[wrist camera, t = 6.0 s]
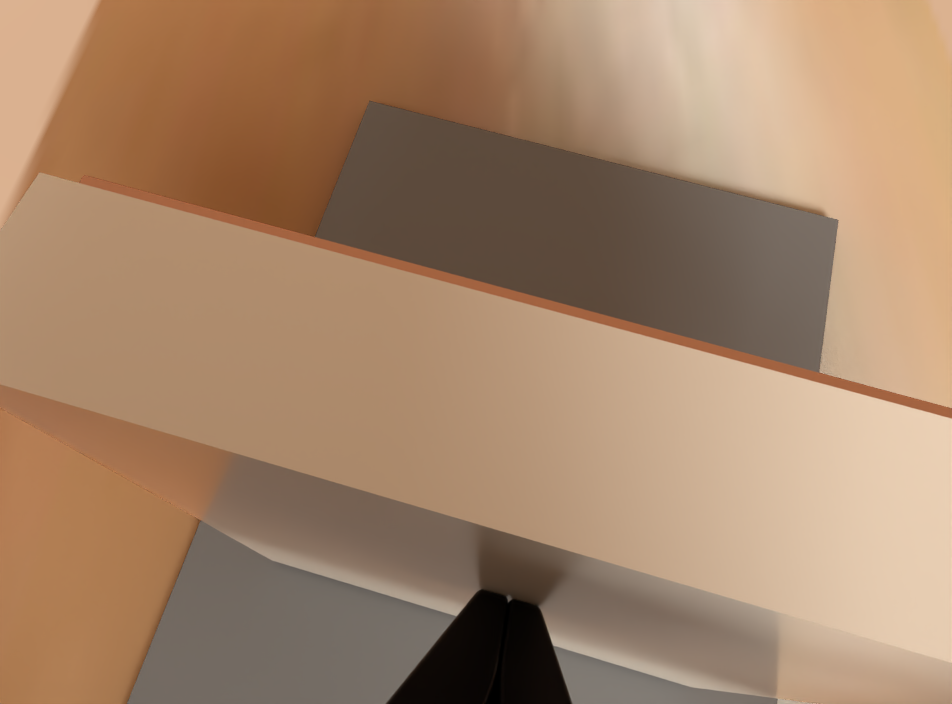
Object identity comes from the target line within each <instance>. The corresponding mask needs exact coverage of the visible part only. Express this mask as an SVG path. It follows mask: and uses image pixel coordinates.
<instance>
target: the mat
mask: <svg viewBox="0 0 952 704" xmlns="http://www.w3.org/2000/svg"><path fill="white" fill-rule="evenodd" d="M837 227H838V220H837V219H833V218H829V217H825V216H821V215H817V214H813V213H809V212H805V211H801V210H797V209H793V208H789V207H785V206H781V205H778V204H774V203H770V202H766V201H762V200H758V199H754V198H750V197H746V196H742V195H738V194H734V193H730V192H726V191H722V190H719V189H715V188H711V187H707V186H703V185H699V184H695V183H691V182H687V181H683V180H679V179H675V178H671V177H667V176H663V175H660V174H656V173H652V172H648V171H644V170H640V169H636V168H632V167H628V166H624V165H620V164H616V163H612V162H608V161H604V160H601V159H597V158H593V157H589V156H585V155H581V154H577V153H573V152H569V151H565V150H561V149H557V148H553V147H549V146H545V145H542V144H538V143H534V142H530V141H526V140H522V139H518V138H514V137H510V136H506V135H502V134H498V133H494V132H490V131H486V130H483V129H479V128H475V127H471V126H467V125H463V124H459V123H455V122H451V121H447V120H443V119H439V118H435V117H431V116H427V115H424V114H420V113H416V112H412V111H408V110H404V109H400V108H396V107H392V106H388V105H384V104H380V103H376V102H372V101H369V104H368V106H367V109H366V111H365V114H364V116H363V118H362V121H361V123H360V126H359V128H358V131H357V133H356V136H355V138H354V141H353V143H352V146H351V148H350V151H349V153H348V156H347V158H346V161H345V163H344V166H343V168H342V171H341V173H340V176H339V178H338V181H337V183H336V186H335V188H334V191H333V193H332V196H331V198H330V200H329V203H328V205H327V208H326V210H325V213H324V215H323V218H322V220H321V223H320V225H319V228H318V230H317V233H316V235H315V237H317V238H320V239H324V240H328V241H331V242H335V243H339V244H343V245H346V246H350V247H354V248H357V249H361V250H365V251H369V252H372V253H376V254H380V255H383V256H387V257H391V258H395V259H398V260H402V261H406V262H409V263H413V264H417V265H421V266H424V267H428V268H432V269H435V270H439V271H443V272H447V273H450V274H454V275H458V276H461V277H465V278H469V279H473V280H476V281H480V282H484V283H487V284H491V285H495V286H499V287H502V288H506V289H510V290H513V291H517V292H521V293H525V294H528V295H532V296H536V297H540V298H543V299H547V300H551V301H554V302H558V303H562V304H566V305H569V306H573V307H577V308H580V309H584V310H588V311H592V312H595V313H599V314H603V315H606V316H610V317H614V318H618V319H621V320H625V321H629V322H632V323H636V324H640V325H644V326H647V327H651V328H655V329H658V330H662V331H666V332H670V333H673V334H677V335H681V336H684V337H688V338H692V339H696V340H699V341H703V342H707V343H710V344H714V345H718V346H722V347H725V348H729V349H733V350H736V351H740V352H744V353H748V354H751V355H755V356H759V357H762V358H766V359H770V360H774V361H777V362H781V363H785V364H788V365H792V366H796V367H800V368H803V369H807V370H811V371H814V372H818V373H819V369H820V361H821V353H822V345H823V337H824V329H825V321H826V314H827V306H828V298H829V290H830V282H831V274H832V266H833V258H834V251H835V243H836V235H837ZM455 618H456V616H454V615H451V614H447V613H444V612H441V611H437V610H434V609H431V608H428V607H424V606H421V605H418V604H414V603H411V602H408V601H404V600H401V599H398V598H395V597H391V596H388V595H385V594H381V593H378V592H375V591H371V590H368V589H365V588H361V587H358V586H355V585H352V584H348V583H345V582H342V581H338V580H335V579H332V578H328V577H325V576H322V575H318V574H315V573H312V572H309V571H305V570H302V569H299V568H295V567H292V566H289V565H285V564H282V563H279V562H276V561H272V560H270V559H268V558H267V557H265V556H263V555H261V554H259V553H258V552H256V551H254V550H252V549H251V548H249V547H247V546H245V545H243V544H242V543H240V542H238V541H236V540H235V539H233V538H231V537H229V536H227V535H226V534H224V533H222V532H220V531H219V530H217V529H215V528H213V527H211V526H210V525H208V524H206V523H204V522H203V521H200V524H199V526H198V529H197V531H196V533H195V536H194V538H193V541H192V543H191V546H190V548H189V551H188V553H187V556H186V558H185V561H184V563H183V566H182V568H181V571H180V573H179V576H178V578H177V581H176V583H175V586H174V588H173V591H172V593H171V596H170V598H169V601H168V603H167V606H166V608H165V611H164V613H163V615H162V618H161V620H160V623H159V625H158V628H157V630H156V633H155V635H154V638H153V640H152V643H151V645H150V648H149V650H148V653H147V655H146V658H145V660H144V663H143V665H142V668H141V670H140V673H139V675H138V678H137V680H136V683H135V685H134V688H133V690H132V693H131V695H130V697H129V700H128V702H127V704H386V702H387V701H388V700H389V699H390V697H391V696H392V695H393V694H394V693H395V691H396V690H397V689H398V688H399V686H400V685H401V684H402V683H403V681H404V680H405V679H406V678H407V677H408V675H409V674H410V673H411V672H412V670H413V669H414V668H415V667H416V666H417V664H418V663H419V662H420V661H421V659H422V658H423V657H424V656H425V654H426V653H427V652H428V651H429V650H430V648H431V647H432V646H433V645H434V643H435V642H436V641H437V640H438V638H439V637H440V636H441V635H442V634H443V632H444V631H445V630H446V629H447V627H448V626H449V625H450V624H451V623H452V621H453V620H454V619H455ZM553 647H554V650H555V653H556V656H557V659H558V662H559V665H560V668H561V671H562V674H563V677H564V680H565V683H566V686H567V689H568V692H569V695H570V698H571V701H572V704H777V699H778V698H770V697H762V696H755V695H747V694H739V693H732V692H724V691H716V690H709V689H701V688H693V687H689V686H685V685H682V684H679V683H675V682H672V681H669V680H666V679H662V678H659V677H656V676H652V675H649V674H646V673H642V672H639V671H636V670H633V669H629V668H626V667H623V666H619V665H616V664H613V663H609V662H606V661H603V660H599V659H596V658H593V657H590V656H586V655H583V654H580V653H576V652H573V651H570V650H566V649H563V648H560V647H556V646H553Z"/></svg>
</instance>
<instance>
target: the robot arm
mask: <svg viewBox="0 0 952 704" xmlns="http://www.w3.org/2000/svg"><path fill="white" fill-rule="evenodd" d="M386 704H572V701H571V698H570V695H569V692H568V689H567V686H566V683H565V680H564V677H563V674H562V671H561V668H560V665H559V662H558V659H557V656H556V653H555V650H554V647H553V644H552V641H551V638H550V635H549V632H548V629H547V626H546V623H545V620H544V617H543V614H542V611H541V609H540V608H539V607H538V606H536V605H533V604H529V603H526V602H523V601H519V600H516V599H512V600H510V601H509V602H508V599H507V597H506V596H503V595H499V594H496V593H493V592H489V591H486V590H482V589H481V590H479V591H477V592H476V593H475V594H474V595H473V597H472V598H471V599H470V600H469V602H468V603H467V604H466V605H465V607H464V608H463V609H462V610H461V611H460V613H459V614H458V615H457V616H456V618H455V619H454V620H453V621H452V623H451V624H450V625H449V626H448V627H447V629H446V630H445V631H444V632H443V634H442V635H441V636H440V637H439V638H438V640H437V641H436V642H435V643H434V645H433V646H432V647H431V648H430V650H429V651H428V652H427V653H426V654H425V656H424V657H423V658H422V659H421V661H420V662H419V663H418V664H417V666H416V667H415V668H414V669H413V670H412V672H411V673H410V674H409V675H408V677H407V678H406V679H405V680H404V681H403V683H402V684H401V685H400V686H399V688H398V689H397V690H396V691H395V693H394V694H393V695H392V696H391V697H390V699H389V700H388V701H387V702H386Z"/></svg>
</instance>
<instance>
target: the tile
mask: <svg viewBox="0 0 952 704" xmlns="http://www.w3.org/2000/svg"><path fill="white" fill-rule="evenodd" d="M0 408H2V409H3V410H5V411H7V412H9V413H10V414H12V415H14V416H16V417H18V418H19V419H21V420H23V421H25V422H26V423H28V424H30V425H32V426H34V427H35V428H37V429H39V430H41V431H42V432H44V433H46V434H48V435H50V436H51V437H53V438H55V439H57V440H58V441H60V442H62V443H64V444H66V445H67V446H69V447H71V448H73V449H74V450H76V451H78V452H80V453H82V454H83V455H85V456H87V457H89V458H90V459H92V460H94V461H96V462H98V463H99V464H101V465H103V466H105V467H106V468H108V469H110V470H112V471H114V472H115V473H117V474H119V475H121V476H122V477H124V478H126V479H128V480H130V481H131V482H133V483H135V484H137V485H138V486H140V487H142V488H144V489H146V490H147V491H149V492H151V493H153V494H154V495H156V496H158V497H160V498H162V499H163V500H165V501H167V502H169V503H170V504H172V505H174V506H176V507H178V508H179V509H181V510H183V511H185V512H187V513H188V514H190V515H192V516H194V517H195V518H197V519H199V520H201V521H203V522H204V523H206V524H208V525H210V526H211V527H213V528H215V529H217V530H219V531H220V532H222V533H224V534H226V535H227V536H229V537H231V538H233V539H235V540H236V541H238V542H240V543H242V544H243V545H245V546H247V547H249V548H251V549H252V550H254V551H256V552H258V553H259V554H261V555H263V556H265V557H267V558H268V559H270V560H272V561H276V562H279V563H282V564H285V565H289V566H292V567H295V568H299V569H302V570H305V571H309V572H312V573H315V574H318V575H322V576H325V577H328V578H332V579H335V580H338V581H342V582H345V583H348V584H352V585H355V586H358V587H361V588H365V589H368V590H371V591H375V592H378V593H381V594H385V595H388V596H391V597H395V598H398V599H401V600H404V601H408V602H411V603H414V604H418V605H421V606H424V607H428V608H431V609H434V610H437V611H441V612H444V613H447V614H451V615H454V616H457V615H458V614H459V613H460V611H461V610H462V609H463V608H464V607H465V605H466V604H467V603H468V602H469V600H470V599H471V598H472V597H473V595H474V594H475V593H476V592H477V591H479V590H481V589H482V590H486V591H489V592H493V593H496V594H499V595H503V596H506V597H507V599H508V602H509V601H510V600H512V599H516V600H519V601H523V602H526V603H529V604H533V605H536V606H538V607H539V608H540V609H541V611H542V614H543V617H544V620H545V623H546V626H547V629H548V632H549V635H550V638H551V641H552V644H553V646H556V647H560V648H563V649H566V650H570V651H573V652H576V653H580V654H583V655H586V656H590V657H593V658H596V659H599V660H603V661H606V662H609V663H613V664H616V665H619V666H623V667H626V668H629V669H633V670H636V671H639V672H642V673H646V674H649V675H652V676H656V677H659V678H662V679H666V680H669V681H672V682H675V683H679V684H682V685H685V686H689V687H693V688H701V689H709V690H716V691H724V692H732V693H739V694H747V695H755V696H762V697H770V698H778V699H785V700H793V701H801V702H808V703H816V704H952V408H948V407H944V406H941V405H937V404H933V403H930V402H926V401H922V400H918V399H915V398H911V397H907V396H904V395H900V394H896V393H892V392H889V391H885V390H881V389H878V388H874V387H870V386H866V385H863V384H859V383H855V382H852V381H848V380H844V379H840V378H837V377H833V376H829V375H826V374H822V373H818V372H814V371H811V370H807V369H803V368H800V367H796V366H792V365H788V364H785V363H781V362H777V361H774V360H770V359H766V358H762V357H759V356H755V355H751V354H748V353H744V352H740V351H736V350H733V349H729V348H725V347H722V346H718V345H714V344H710V343H707V342H703V341H699V340H696V339H692V338H688V337H684V336H681V335H677V334H673V333H670V332H666V331H662V330H658V329H655V328H651V327H647V326H644V325H640V324H636V323H632V322H629V321H625V320H621V319H618V318H614V317H610V316H606V315H603V314H599V313H595V312H592V311H588V310H584V309H580V308H577V307H573V306H569V305H566V304H562V303H558V302H554V301H551V300H547V299H543V298H540V297H536V296H532V295H528V294H525V293H521V292H517V291H513V290H510V289H506V288H502V287H499V286H495V285H491V284H487V283H484V282H480V281H476V280H473V279H469V278H465V277H461V276H458V275H454V274H450V273H447V272H443V271H439V270H435V269H432V268H428V267H424V266H421V265H417V264H413V263H409V262H406V261H402V260H398V259H395V258H391V257H387V256H383V255H380V254H376V253H372V252H369V251H365V250H361V249H357V248H354V247H350V246H346V245H343V244H339V243H335V242H331V241H328V240H324V239H320V238H317V237H313V236H309V235H305V234H302V233H298V232H294V231H291V230H287V229H283V228H279V227H276V226H272V225H268V224H265V223H261V222H257V221H253V220H250V219H246V218H242V217H239V216H235V215H231V214H227V213H224V212H220V211H216V210H213V209H209V208H205V207H201V206H198V205H194V204H190V203H187V202H183V201H179V200H175V199H172V198H168V197H164V196H161V195H157V194H153V193H149V192H146V191H142V190H138V189H135V188H131V187H127V186H123V185H120V184H116V183H112V182H109V181H105V180H101V179H97V178H94V177H90V176H86V175H84V176H83V177H82V179H81V181H80V182H79V183H77V182H74V181H70V180H66V179H63V178H59V177H55V176H52V175H48V174H44V173H40V172H39V174H38V175H37V177H36V178H35V180H34V181H33V183H32V184H31V186H30V187H29V189H28V190H27V191H26V193H25V194H24V196H23V197H22V199H21V200H20V202H19V203H18V205H17V206H16V208H15V209H14V211H13V212H12V214H11V215H10V217H9V218H8V220H7V221H6V222H5V224H4V225H3V227H2V228H1V230H0Z"/></svg>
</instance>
